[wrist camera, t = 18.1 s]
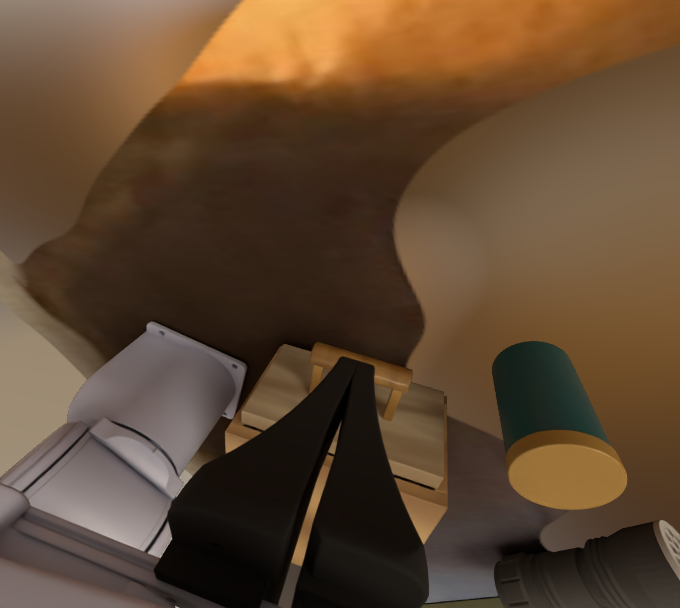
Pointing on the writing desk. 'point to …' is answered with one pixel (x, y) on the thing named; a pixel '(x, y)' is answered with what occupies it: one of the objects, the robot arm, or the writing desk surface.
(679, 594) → the flashlight
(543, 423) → the tea tin
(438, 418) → the drawer
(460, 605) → the green hill with tree
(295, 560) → the cabinet
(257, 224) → the writing desk surface
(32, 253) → the writing desk surface
